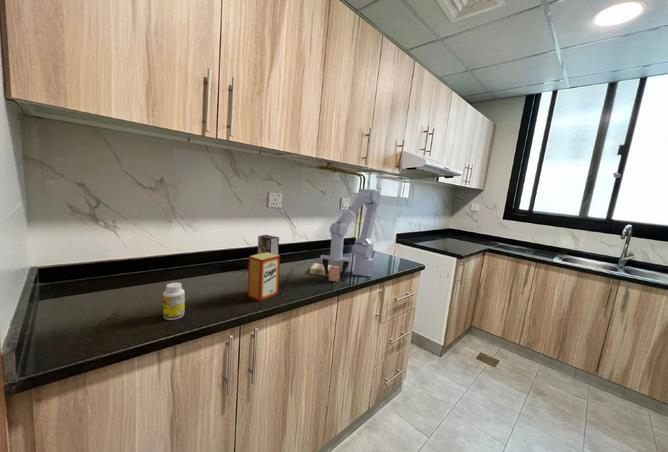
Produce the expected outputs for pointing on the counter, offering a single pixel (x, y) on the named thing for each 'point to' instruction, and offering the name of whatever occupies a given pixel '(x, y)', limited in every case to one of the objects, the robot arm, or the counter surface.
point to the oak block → (319, 269)
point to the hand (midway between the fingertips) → (334, 275)
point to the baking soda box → (263, 276)
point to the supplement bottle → (173, 301)
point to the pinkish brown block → (334, 273)
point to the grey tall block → (268, 244)
